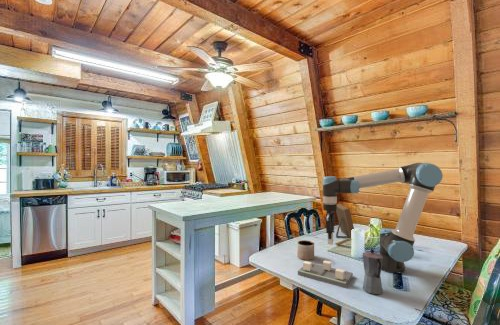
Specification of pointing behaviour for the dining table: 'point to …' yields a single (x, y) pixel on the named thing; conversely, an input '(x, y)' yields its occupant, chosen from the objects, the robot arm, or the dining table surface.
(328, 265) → the block
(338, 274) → the block
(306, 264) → the block
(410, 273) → the dining table surface
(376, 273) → the moka pot
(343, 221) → the photo frame
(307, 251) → the planter
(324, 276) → the switch board
